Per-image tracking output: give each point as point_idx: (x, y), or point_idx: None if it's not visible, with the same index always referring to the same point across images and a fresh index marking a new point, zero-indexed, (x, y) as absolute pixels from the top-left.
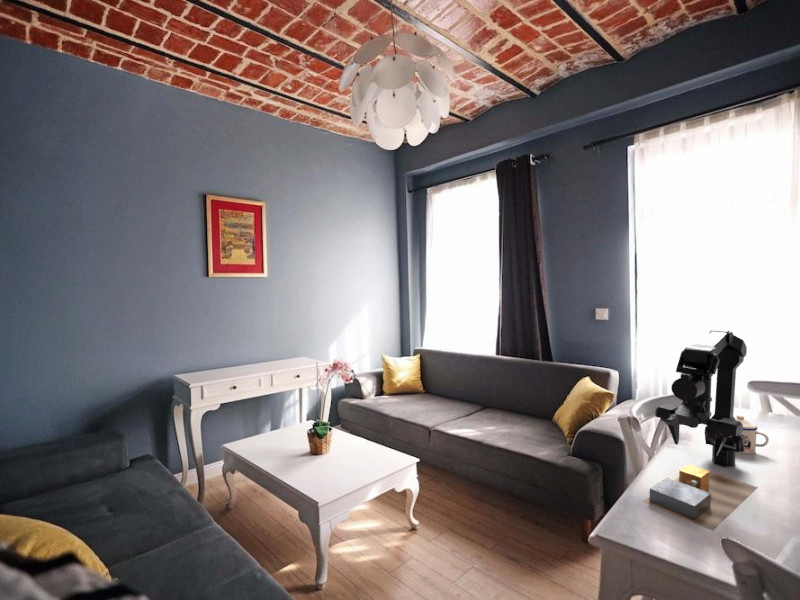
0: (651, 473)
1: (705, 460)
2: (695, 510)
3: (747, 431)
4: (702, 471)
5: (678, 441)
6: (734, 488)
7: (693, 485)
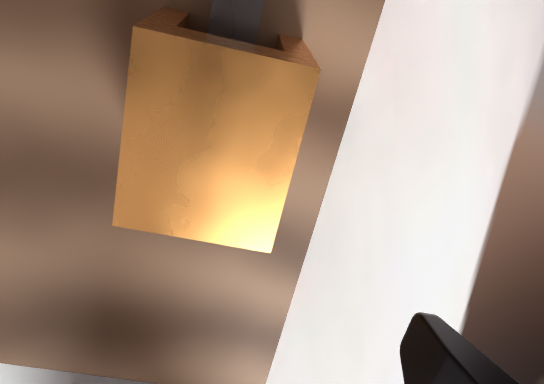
0: (464, 205)
1: None
2: None
3: None
4: (153, 182)
5: (405, 379)
6: (35, 267)
7: None
